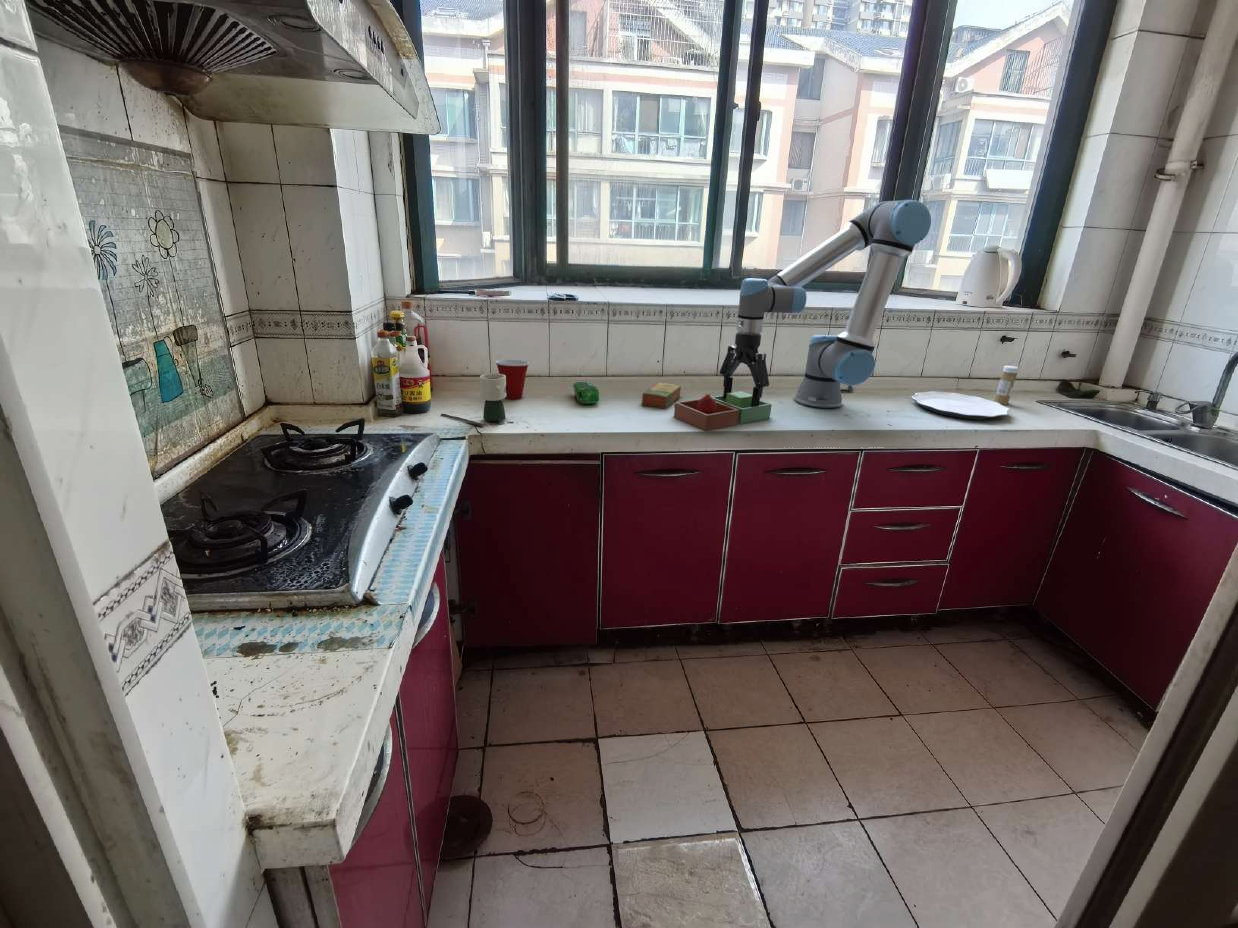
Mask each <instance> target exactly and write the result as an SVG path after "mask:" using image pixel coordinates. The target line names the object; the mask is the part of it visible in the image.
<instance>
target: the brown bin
mask: <svg viewBox="0 0 1238 928" xmlns="http://www.w3.org/2000/svg"><path fill="white" fill-rule="evenodd" d="M700 399H701V398H695V399H689V400H683V401H677V402H676V401H674V412H673V418H676V419H678V420H681V421H682V422H685V423H687V424H689V425H692V426H693V427H696V428H698V429H700V430H703V431H712V430H717V429H722V428H728V427H732V426H738V423H737V422H738V414H739V410H738V409H735V408H732V407H730V406H727V405H724V404H722V403H719V402H716V401H715V402H716V411H715V413H714V414H708V415H707V414H705V413H702V412H700V411H697V404H698V402H699V400H700Z"/></svg>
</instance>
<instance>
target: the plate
mask: <svg viewBox="0 0 1238 928" xmlns="http://www.w3.org/2000/svg"><path fill="white" fill-rule="evenodd" d="M911 400H914V401H915V402H917V403H918V404H919V405H920V406H921V408H924V409H925V410H928V411H930V412H932V413H936V414H940V415H943V416H947V417H952V418H958V419H966V420H975V421H976V420H981V421H984V420H985V421H987V420H993V419H997V418H1000V417H1005V416H1008V415H1009V413H1008V412H1011V411H1010V410H1011V409H1010V408H1009V407H1006V406H1005V405H1002V404H999V403H997V402H994V400H989V399H986V398H982V397H980V396H976V395H968V394H962V393H957V392H948V391H947V392H946V391H945V392H944V391H935V390H934V391H933V390H932V391H930V390H929V391H925V392H924V391H922V392H915V393H914V395H912V396H911Z"/></svg>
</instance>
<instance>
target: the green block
mask: <svg viewBox="0 0 1238 928" xmlns="http://www.w3.org/2000/svg"><path fill="white" fill-rule="evenodd" d="M726 402H727V403H729V404H732V405H735V406H737V407H740V408H748V407H751V402H752V394H750V393H747V392H745V391H742V390H740V391H731V393H727V398H726Z"/></svg>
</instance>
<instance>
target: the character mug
mask: <svg viewBox="0 0 1238 928" xmlns="http://www.w3.org/2000/svg"><path fill="white" fill-rule="evenodd" d="M479 385H480V397H481V399H482V400H484V405H483V420H484V421H488V422H496V423H497V422H498V421H504V420H506V418H507V417H506V409H505V405H504V402H503V400H504V399H506V398H505V397H506V376H505V375H503V374H499V373H484V374H481V375H480V376H479Z"/></svg>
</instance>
